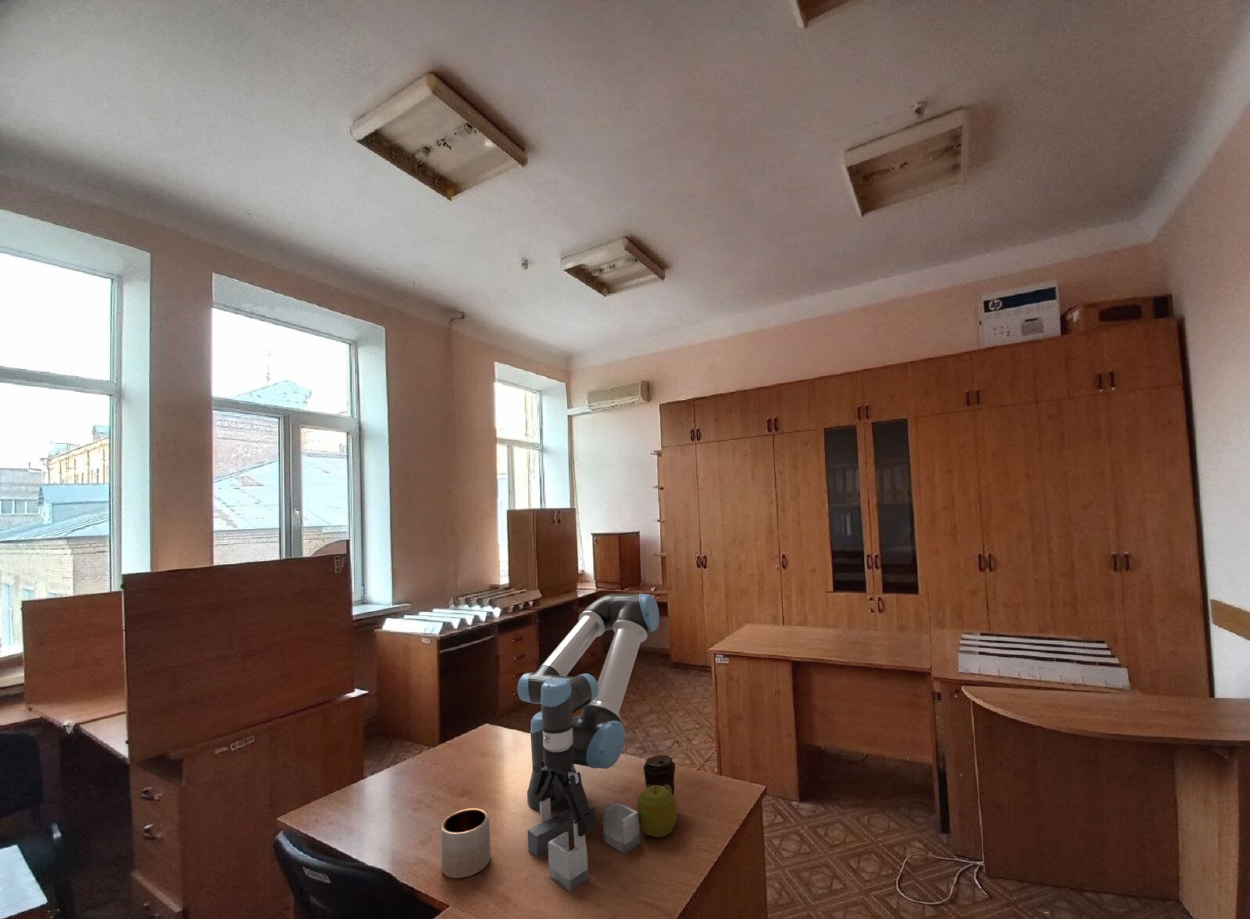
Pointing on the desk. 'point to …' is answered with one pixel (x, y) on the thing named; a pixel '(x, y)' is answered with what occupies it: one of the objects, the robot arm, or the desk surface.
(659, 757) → the coffee cup
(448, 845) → the planter
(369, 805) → the desk surface
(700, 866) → the desk surface
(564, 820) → the rail
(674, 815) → the apple
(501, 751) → the desk surface
